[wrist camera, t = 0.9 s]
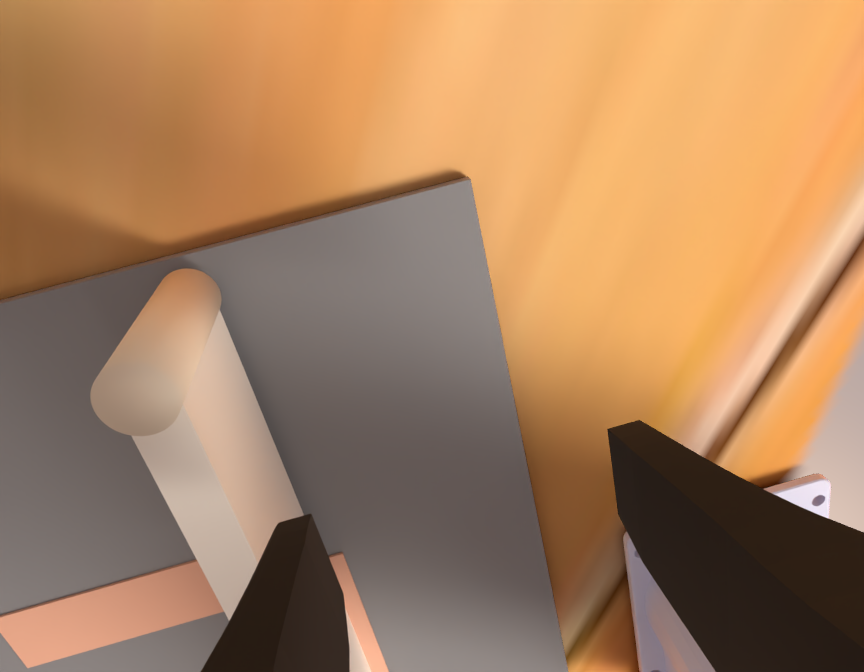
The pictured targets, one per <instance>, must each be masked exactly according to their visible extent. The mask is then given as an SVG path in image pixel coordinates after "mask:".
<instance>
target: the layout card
mask: <svg viewBox="0 0 864 672" xmlns="http://www.w3.org/2000/svg"><path fill="white" fill-rule="evenodd" d="M185 268H188V269H195V270H199V271H201V272H204V273H205V274H207V275H208V276H210V277H211V278H212V279H213V280H214V281H215V282H216V284H217V285H218V287H219V289H220V292H221V297H222V301H221V307H220V312H221V314H222V316H223V319H224V321H225V324H226V326H227V329H228V331H229V333H230V336H231V338H232V341H233V343H234V346H235V348H236V351H237V353H238V355H239V358H240V360H241V363H242V365H243V368H244V370H245V373H246V375H247V377H248V380H249V382H250V385H251V387H252V390H253V392H254V394H255V397H256V399H257V402H258V404H259V407H260V409H261V412H262V414H263V416H264V419H265V421H266V424H267V426H268V429H269V431H270V433H271V436H272V438H273V441H274V443H275V446H276V448H277V451H278V453H279V455H280V458H281V460H282V463H283V465H284V468H285V470H286V472H287V475H288V477H289V480H290V482H291V485H292V487H293V490H294V492H295V494H296V497H297V499H298V502H299V504H300V507H301V509H302V512H303V514H304V515H307V514H312V516H313V519H314V521H315V524H316V526H317V529H318V531H319V534H320V536H321V539H322V541H323V544H324V546H325V549H326V551H327V554H328V556H329V559H330V561H331V564H332V566H333V569H334V571H335V574H336V576H337V579H338V581H339V583H340V586H341V588H342V591H343V593H344V602H345V608H346V611H347V613H348V616H349V618H350V620H351V623H352V625H353V628H354V630H355V633H356V635H357V638H358V640H359V643H360V645H361V647H362V650H363V652H364V655H365V657H366V660H367V662H368V665H369V667H370V670H371V672H568V668H567V662H566V657H565V652H564V647H563V642H562V637H561V632H560V627H559V622H558V617H557V612H556V607H555V602H554V597H553V592H552V587H551V582H550V577H549V572H548V567H547V562H546V557H545V552H544V547H543V542H542V537H541V532H540V527H539V522H538V517H537V512H536V507H535V501H534V496H533V491H532V486H531V481H530V476H529V471H528V466H527V461H526V456H525V451H524V446H523V441H522V436H521V431H520V426H519V421H518V416H517V411H516V406H515V401H514V396H513V391H512V386H511V381H510V376H509V371H508V366H507V361H506V356H505V351H504V346H503V340H502V335H501V330H500V325H499V320H498V315H497V310H496V305H495V300H494V295H493V290H492V285H491V280H490V275H489V270H488V265H487V260H486V255H485V250H484V245H483V240H482V235H481V230H480V225H479V220H478V215H477V210H476V205H475V200H474V195H473V190H472V185H471V179H470V178H469V177H464V178H460V179H456V180H452V181H449V182H445V183H441V184H437V185H433V186H430V187H426V188H422V189H418V190H415V191H411V192H407V193H403V194H399V195H396V196H392V197H388V198H384V199H381V200H377V201H373V202H369V203H365V204H362V205H358V206H354V207H350V208H347V209H343V210H339V211H335V212H331V213H328V214H324V215H320V216H316V217H313V218H309V219H305V220H301V221H297V222H294V223H290V224H286V225H282V226H278V227H275V228H271V229H267V230H263V231H260V232H256V233H252V234H248V235H244V236H241V237H237V238H233V239H229V240H226V241H222V242H218V243H214V244H210V245H207V246H203V247H199V248H195V249H192V250H188V251H184V252H180V253H176V254H173V255H169V256H165V257H161V258H158V259H154V260H150V261H146V262H142V263H139V264H135V265H131V266H127V267H124V268H120V269H116V270H112V271H108V272H105V273H101V274H97V275H93V276H89V277H86V278H82V279H78V280H74V281H71V282H67V283H63V284H59V285H55V286H52V287H48V288H44V289H40V290H37V291H33V292H29V293H25V294H21V295H18V296H14V297H10V298H6V299H3V300H0V672H201V670H202V668H203V667H204V665H205V663H206V661H207V660H208V658H209V656H210V654H211V653H212V651H213V649H214V647H215V646H216V644H217V642H218V641H219V639H220V637H221V635H222V634H223V632H224V630H225V628H226V626H227V624H228V623H229V620H228V618H227V616H226V614H225V612H224V610H223V608H222V606H221V605H220V603H219V601H218V599H217V597H216V595H215V593H214V591H213V589H212V588H211V586H210V584H209V582H208V580H207V578H206V576H205V574H204V572H203V571H202V569H201V567H200V565H199V563H198V561H197V559H196V557H195V555H194V554H193V552H192V550H191V548H190V546H189V544H188V542H187V540H186V538H185V536H184V535H183V533H182V531H181V529H180V527H179V525H178V523H177V521H176V519H175V518H174V516H173V514H172V512H171V510H170V508H169V506H168V504H167V502H166V501H165V499H164V497H163V495H162V493H161V491H160V489H159V487H158V485H157V484H156V482H155V480H154V478H153V476H152V474H151V472H150V470H149V468H148V467H147V465H146V463H145V461H144V459H143V457H142V455H141V453H140V451H139V449H138V448H137V446H136V444H135V442H134V440H133V438H132V436H131V435H126V434H123V433H120V432H117V431H115V430H113V429H112V428H110V427H108V426H107V425H106V424H104V423H103V422H102V421H101V420H100V419H99V417H98V416H97V415H96V413H95V412H94V409H93V407H92V404H91V398H90V393H91V388H92V385H93V383H94V381H95V379H96V378H97V376H98V375H99V373H100V372H101V370H102V369H103V367H104V366H105V364H106V363H107V361H108V360H109V358H110V357H111V355H112V354H113V352H114V351H115V349H116V348H117V346H118V345H119V343H120V342H121V341H122V339H123V338H124V336H125V335H126V333H127V332H128V330H129V329H130V327H131V326H132V324H133V323H134V321H135V320H136V318H137V317H138V315H139V314H140V312H141V311H142V309H143V308H144V306H145V305H146V303H147V302H148V300H149V299H150V298H151V296H152V295H153V293H154V292H155V290H156V289H157V287H158V286H159V284H160V283H161V281H162V280H163V279H164V277H165V276H167V275H168V274H169V273H171V272H173V271H175V270H178V269H185Z"/></svg>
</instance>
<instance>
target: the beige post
mask: <svg viewBox="0 0 864 672" xmlns="http://www.w3.org/2000/svg"><path fill="white" fill-rule="evenodd" d="M221 301H222V297H221V292H220V289H219V287H218V285H217V284H216V282H215V281H214V280H213V279H212V278H211V277H210V276H208V275H207V274H205V273H204V272H201V271H199V270H195V269H188V268H185V269H178V270H175V271H173V272H171V273H169V274H168V275H167V276H165V277H164V279H163V280H162V281H161V283H160V284H159V286H158V287H157V289H156V290H155V292H154V293H153V295H152V296H151V298H150V299H149V300H148V302H147V303H146V305H145V306H144V308H143V309H142V311H141V312H140V314H139V315H138V317H137V318H136V320H135V321H134V323H133V324H132V326H131V327H130V329H129V330H128V332H127V333H126V335H125V336H124V338H123V339H122V341H121V342H120V343H119V345H118V346H117V348H116V349H115V351H114V352H113V354H112V355H111V357H110V358H109V360H108V361H107V363H106V364H105V366H104V367H103V369H102V370H101V372H100V373H99V375H98V376H97V378H96V379H95V381H94V383H93V385H92V388H91V393H90V398H91V404H92V407H93V409H94V412H95V413H96V415H97V416H98V417H99V419H100V420H101V421H102V422H103V423H104V424H106V425H107V426H108V427H110V428H112V429H113V430H115V431H117V432H120V433H123V434H126V435H131V436H132V438H133V440H134V442H135V444H136V446H137V448H138V449H139V451H140V453H141V455H142V457H143V459H144V461H145V463H146V465H147V467H148V468H149V470H150V472H151V474H152V476H153V478H154V480H155V482H156V484H157V485H158V487H159V489H160V491H161V493H162V495H163V497H164V499H165V501H166V502H167V504H168V506H169V508H170V510H171V512H172V514H173V516H174V518H175V519H176V521H177V523H178V525H179V527H180V529H181V531H182V533H183V535H184V536H185V538H186V540H187V542H188V544H189V546H190V548H191V550H192V552H193V554H194V555H195V557H196V559H197V561H198V563H199V565H200V567H201V569H202V571H203V572H204V574H205V576H206V578H207V580H208V582H209V584H210V586H211V588H212V589H213V591H214V593H215V595H216V597H217V599H218V601H219V603H220V605H221V606H222V608H223V610H224V612H225V614H226V616H227V618H228V620H229V621H230V619H231V617H232V615H233V613H234V611H235V609H236V607H237V605H238V603H239V601H240V599H241V597H242V595H243V594H244V592H245V590H246V588H247V586H248V584H249V582H250V579H251V577H252V575H253V573H254V571H255V569H256V567H257V565H258V563H259V561H260V559H261V556H262V554H263V552H264V550H265V548H266V546H267V544H268V541H269V539H270V537H271V535H272V533H273V531H274V529H275V527H276V526H277V524H278V523H279V522H283V521H286V520H290V519H293V518H297V517H300V516H304V514H303V512H302V509H301V507H300V504H299V502H298V499H297V497H296V494H295V492H294V490H293V487H292V485H291V482H290V480H289V477H288V475H287V472H286V470H285V468H284V465H283V463H282V460H281V458H280V455H279V453H278V451H277V448H276V446H275V443H274V441H273V438H272V436H271V433H270V431H269V429H268V426H267V424H266V421H265V419H264V416H263V414H262V412H261V409H260V407H259V404H258V402H257V399H256V397H255V394H254V392H253V390H252V387H251V385H250V382H249V380H248V377H247V375H246V373H245V370H244V368H243V365H242V363H241V360H240V358H239V355H238V353H237V351H236V348H235V346H234V343H233V341H232V338H231V336H230V333H229V331H228V329H227V326H226V324H225V321H224V319H223V316H222V314H221V312H220V307H221Z"/></svg>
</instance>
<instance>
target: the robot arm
mask: <svg viewBox="0 0 864 672" xmlns="http://www.w3.org/2000/svg"><path fill="white" fill-rule="evenodd" d="M608 437H609V445H610V453H611V461H612V469H613V477H614V485H615V493H616V501H617V509H618V515H619V517H620V519H621V521H622V523H623V525H624V527H625V529H626V533H625V534H624V537H623V543H624V551H625V559H626V567H627V575H628V583H629V591H630V599H631V607H632V615H633V624H634V632H635V640H636V648H637V656H638V664H639V672H864V533H863V532H861V531H858V530H856V529H853V528H851V527H848V526H845V525H843V524H841V523H838V522H836V521H833V520H831V519H829V507H830V506H829V505H830V490H831V484H830V482H829V481H828V480H827V479H826V478H825V477H824V476H823V475H821V474H813V475H809V476H805V477H802V478H798V479H795V480H792V481H788V482H785V483H781V484H778V485H774V486H771V487H768V488H764V489H762V488H760V487H758V486H756V485H754V484H752V483H750V482H748V481H746V480H744V479H742V478H740V477H738V476H736V475H735V474H733V473H731V472H729V471H727V470H725V469H723V468H722V467H720V466H718V465H716V464H714V463H712V462H711V461H709V460H707V459H705V458H704V457H702V456H700V455H698V454H697V453H695V452H693V451H691V450H690V449H688V448H686V447H684V446H683V445H681V444H679V443H678V442H676V441H674V440H673V439H671V438H669V437H667V436H666V435H664V434H662V433H661V432H659V431H657V430H656V429H654V428H652V427H651V426H649V425H647V424H645V423H644V422H642V421H640V420H638V421H634V422H631V423H627V424H624V425H620V426H617V427H613V428H610V429H608ZM201 672H350V648H349V638H348V628H347V619H346V610H345V602H344V593H343V591H342V588H341V586H340V583H339V581H338V579H337V576H336V574H335V571H334V569H333V566H332V564H331V561H330V559H329V556H328V554H327V551H326V549H325V546H324V544H323V541H322V539H321V536H320V534H319V531H318V529H317V526H316V524H315V521H314V519H313V516H312V514H307V515H304V516H300V517H297V518H293V519H290V520H286V521H283V522H279V523H278V524H277V526H276V527H275V529H274V531H273V533H272V535H271V537H270V539H269V541H268V544H267V546H266V548H265V550H264V552H263V554H262V556H261V559H260V561H259V563H258V565H257V567H256V569H255V571H254V573H253V575H252V577H251V579H250V582H249V584H248V586H247V588H246V590H245V592H244V594H243V595H242V597H241V599H240V601H239V603H238V605H237V607H236V609H235V611H234V613H233V615H232V617H231V619H230V621H229V623H228V624H227V626H226V628H225V630H224V632H223V634H222V635H221V637H220V639H219V641H218V642H217V644H216V646H215V647H214V649H213V651H212V653H211V654H210V656H209V658H208V660H207V661H206V663H205V665H204V667H203V668H202V670H201Z"/></svg>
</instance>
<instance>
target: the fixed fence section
mask: <svg viewBox="0 0 864 672" xmlns="http://www.w3.org/2000/svg"><path fill="white" fill-rule="evenodd" d="M345 610H346V608H345ZM346 619H347V628H348V638H349V648H350V672H371V670H370V667H369V665H368V662H367V660H366V657H365V655H364V652H363V650H362V647H361V645H360V643H359V640H358V638H357V635H356V633H355V630H354V628H353V625H352V623H351V620H350V618H349V616H348V613H347V611H346Z"/></svg>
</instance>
